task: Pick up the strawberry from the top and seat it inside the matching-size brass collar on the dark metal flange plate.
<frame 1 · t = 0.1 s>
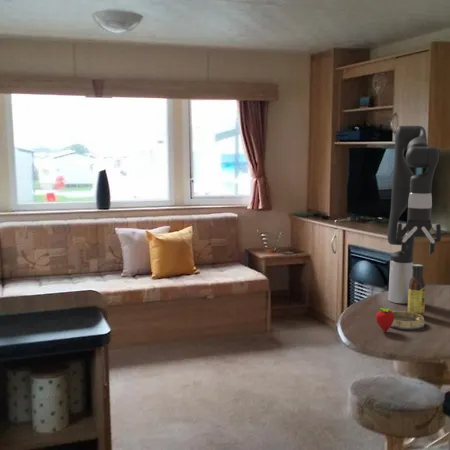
hand: (417, 253, 200), 29 cm above the table, tool pointing down, fingers open, 8 cm apart
flange collar: (402, 323, 217), on the table
sauce bottle: (415, 315, 228), on the table
strawberry: (384, 332, 208), on the table
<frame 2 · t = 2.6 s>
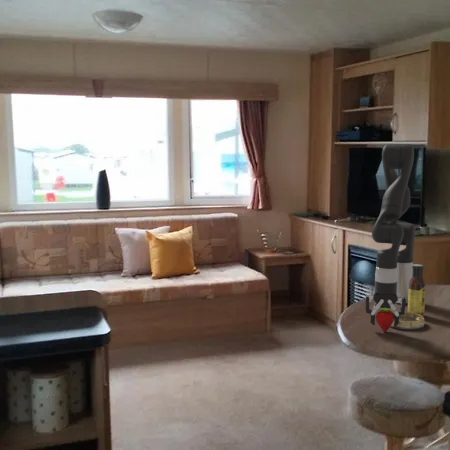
hand: (384, 325, 208), 2 cm above the table, tool pointing down, fingers open, 7 cm apart
strawberry: (384, 332, 208), on the table, touching gripper
everything else where it was.
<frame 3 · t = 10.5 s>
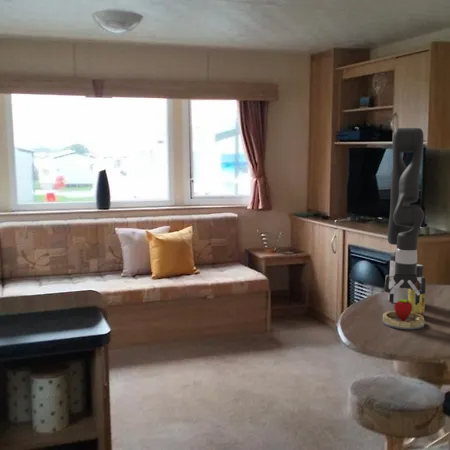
hand: (403, 303, 217), 8 cm above the table, tool pointing down, fingers open, 8 cm apart
strawberry: (402, 321, 217), point 1 cm above the table, touching flange collar
everything else where it was.
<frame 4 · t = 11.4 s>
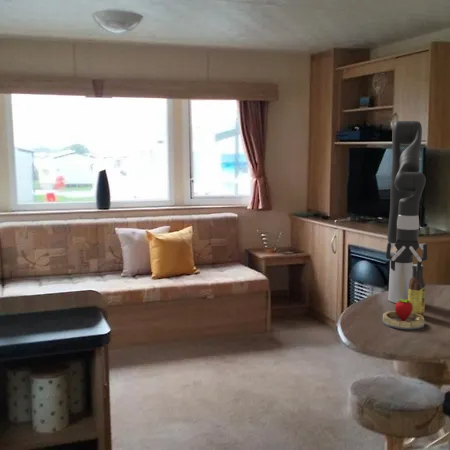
hand: (405, 270, 215), 20 cm above the table, tool pointing down, fingers open, 8 cm apart
nothing on the table moved.
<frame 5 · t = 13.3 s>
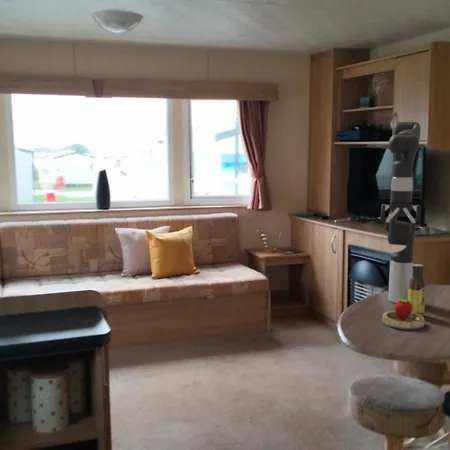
hand: (399, 232, 220), 33 cm above the table, tool pointing down, fingers open, 8 cm apart
nothing on the table moved.
at the end: strawberry 0.1 cm off-centre on the flange collar, point 0.6 cm above the flange collar's base; strawberry tilted 0°; the gripper is holding nothing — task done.
